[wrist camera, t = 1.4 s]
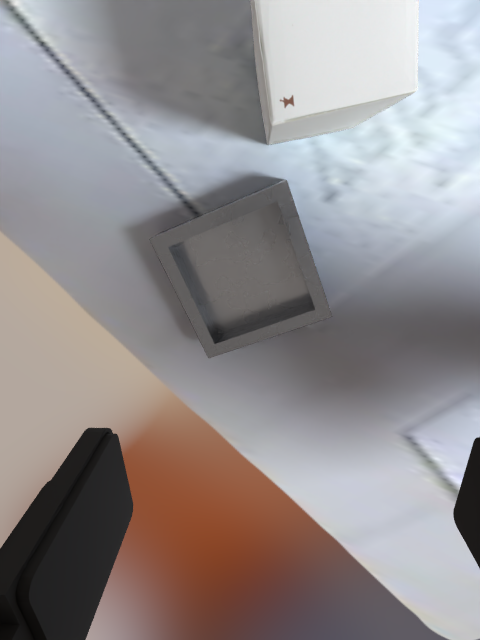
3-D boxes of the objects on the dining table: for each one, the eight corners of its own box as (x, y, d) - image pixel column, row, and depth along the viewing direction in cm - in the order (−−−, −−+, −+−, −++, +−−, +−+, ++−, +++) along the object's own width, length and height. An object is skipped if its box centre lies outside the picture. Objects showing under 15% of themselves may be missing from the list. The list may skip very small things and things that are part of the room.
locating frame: (284, 179, 30) (286, 180, 27) (326, 305, 34) (332, 316, 31) (159, 233, 32) (149, 239, 30) (212, 344, 37) (208, 358, 34)
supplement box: (355, 129, 28) (420, 98, 16) (265, 146, 29) (266, 128, 17) (352, 16, 25) (426, -118, 14) (251, 39, 26) (242, -68, 15)
